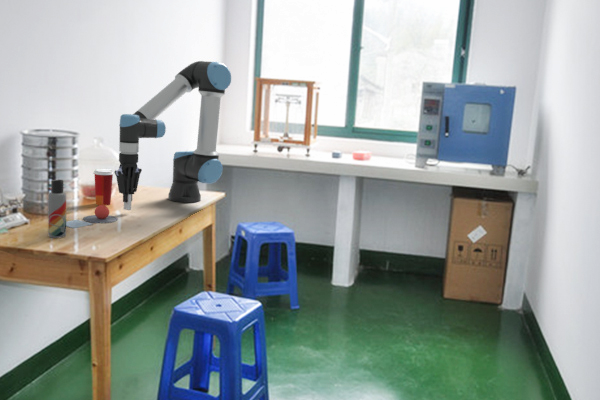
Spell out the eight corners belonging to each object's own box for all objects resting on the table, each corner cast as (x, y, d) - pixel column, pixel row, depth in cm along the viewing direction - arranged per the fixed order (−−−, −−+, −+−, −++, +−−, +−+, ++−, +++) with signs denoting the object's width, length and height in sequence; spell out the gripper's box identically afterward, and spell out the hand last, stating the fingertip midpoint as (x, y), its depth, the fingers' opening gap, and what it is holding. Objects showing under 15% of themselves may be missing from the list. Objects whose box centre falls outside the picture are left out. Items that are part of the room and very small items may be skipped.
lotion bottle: (57, 239, 205) (58, 181, 202) (44, 236, 207) (44, 179, 203) (69, 235, 211) (70, 179, 207) (56, 232, 213) (56, 177, 209)
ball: (99, 219, 240) (104, 206, 241) (108, 222, 237) (114, 209, 238) (89, 215, 235) (95, 202, 236) (99, 217, 232) (104, 204, 234)
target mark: (102, 213, 245) (102, 213, 245) (124, 219, 239) (124, 219, 239) (75, 218, 234) (75, 218, 234) (98, 224, 228) (98, 224, 228)
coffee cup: (112, 202, 268) (113, 169, 265) (113, 206, 260) (113, 172, 257) (92, 201, 265) (93, 168, 262) (92, 206, 257) (93, 171, 254)
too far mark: (77, 220, 232) (77, 219, 232) (93, 224, 228) (93, 223, 228) (57, 223, 225) (57, 223, 225) (73, 228, 220) (73, 227, 220)
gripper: (134, 150, 251) (132, 205, 255) (109, 152, 240) (108, 210, 244) (147, 153, 247) (145, 208, 252) (123, 155, 236) (121, 213, 241)
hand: (127, 209), depth 248 cm, fingers closed
